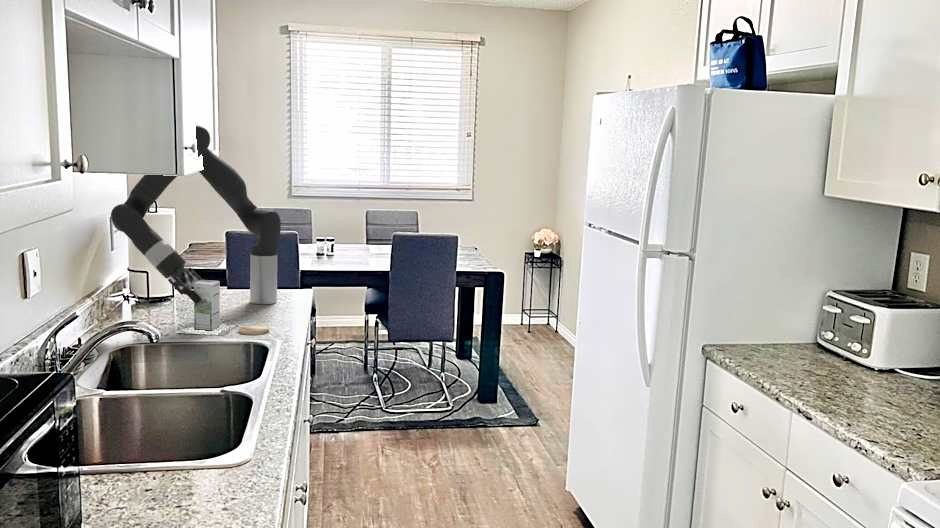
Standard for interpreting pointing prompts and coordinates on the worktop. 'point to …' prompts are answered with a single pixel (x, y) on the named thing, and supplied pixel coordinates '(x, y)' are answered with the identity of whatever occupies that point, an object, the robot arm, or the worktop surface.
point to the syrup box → (207, 305)
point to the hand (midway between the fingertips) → (204, 298)
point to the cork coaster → (253, 330)
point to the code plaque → (218, 334)
